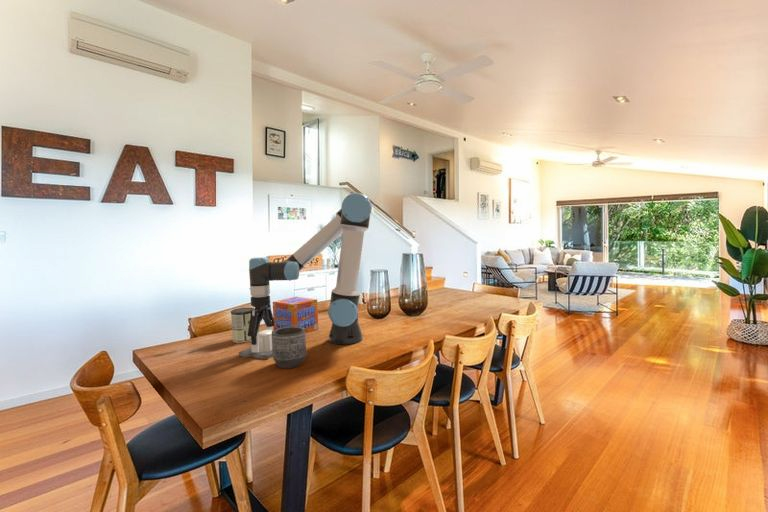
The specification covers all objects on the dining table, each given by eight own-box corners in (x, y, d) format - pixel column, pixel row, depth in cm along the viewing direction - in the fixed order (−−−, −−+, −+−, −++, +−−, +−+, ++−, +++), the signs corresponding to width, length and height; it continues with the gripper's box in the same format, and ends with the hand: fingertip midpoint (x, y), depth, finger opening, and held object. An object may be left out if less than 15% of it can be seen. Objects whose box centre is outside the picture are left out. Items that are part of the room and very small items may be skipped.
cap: (277, 347, 155) (277, 330, 154) (264, 353, 147) (263, 336, 146) (261, 345, 158) (260, 329, 157) (247, 351, 150) (246, 334, 149)
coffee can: (239, 336, 178) (237, 307, 177) (259, 336, 177) (258, 307, 176) (227, 343, 167) (226, 312, 166) (249, 343, 166) (248, 312, 165)
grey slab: (286, 349, 156) (285, 334, 155) (267, 359, 144) (266, 342, 144) (258, 346, 161) (258, 332, 160) (239, 355, 149) (238, 340, 149)
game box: (297, 325, 196) (296, 296, 195) (318, 329, 187) (317, 298, 186) (273, 332, 183) (272, 301, 182) (295, 337, 175) (293, 304, 173)
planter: (289, 372, 130) (287, 337, 129) (265, 366, 136) (264, 332, 135) (313, 361, 140) (312, 328, 139) (290, 356, 147) (289, 325, 146)
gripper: (264, 290, 164) (266, 337, 165) (236, 301, 139) (239, 356, 140) (280, 290, 163) (282, 337, 164) (255, 301, 138) (258, 357, 140)
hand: (262, 346), depth 152 cm, fingers open, 13 cm apart
